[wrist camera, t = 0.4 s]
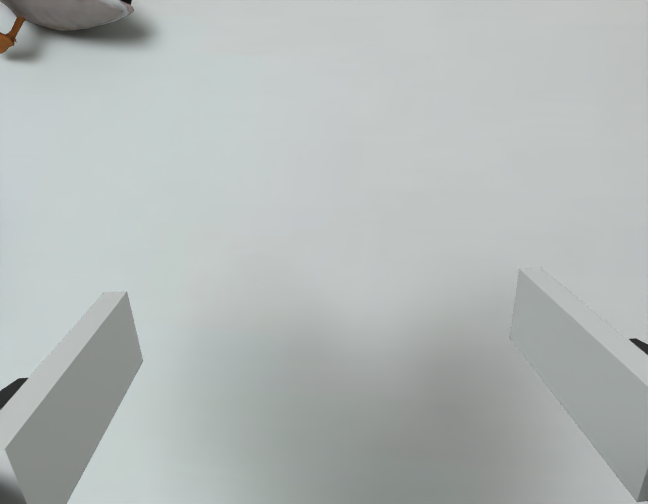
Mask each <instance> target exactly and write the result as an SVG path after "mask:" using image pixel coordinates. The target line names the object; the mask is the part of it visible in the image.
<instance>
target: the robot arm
mask: <svg viewBox="0 0 648 504" xmlns="http://www.w3.org/2000/svg"><path fill="white" fill-rule="evenodd" d="M510 339H511V341H512V342H513V343H514V344H515V346H516V347H517V348H518V350H519V351H520V352H521V353H522V355H523V356H524V357H525V359H526V360H527V361H528V362H529V364H530V365H531V366H532V368H533V369H534V370H535V371H536V373H537V374H538V375H539V377H540V378H541V379H542V380H543V382H544V383H545V384H546V386H547V387H548V388H549V389H550V391H551V392H552V393H553V395H554V396H555V397H556V399H557V400H558V401H559V402H560V404H561V405H562V406H563V408H564V409H565V410H566V411H567V413H568V414H569V415H570V417H571V418H572V419H573V420H574V422H575V423H576V424H577V426H578V427H579V428H580V429H581V431H582V432H583V433H584V435H585V436H586V437H587V438H588V440H589V441H590V442H591V444H592V445H593V446H594V447H595V449H596V450H597V451H598V453H599V454H600V455H601V456H602V458H603V459H604V460H605V462H606V463H607V464H608V465H609V467H610V468H611V469H612V471H613V472H614V473H615V474H616V476H617V477H618V478H619V480H620V481H621V482H622V483H623V485H624V486H625V487H626V489H627V490H628V491H629V493H630V494H631V495H632V496H633V498H634V499H635V500H636V502H642V501H648V344H646V343H644V342H642V341H640V340H638V339H636V338H635V339H627V338H626V337H625V336H624V335H623V334H621V333H620V332H619V331H618V330H616V329H615V328H614V327H613V326H612V325H610V324H609V323H608V322H607V321H606V320H604V319H603V318H602V317H601V316H600V315H598V314H597V313H596V312H595V311H593V310H592V309H591V308H590V307H589V306H587V305H586V304H585V303H584V302H583V301H581V300H580V299H579V298H578V297H576V296H575V295H574V294H573V293H572V292H570V291H569V290H568V289H567V288H566V287H564V286H563V285H562V284H561V283H560V282H558V281H557V280H556V279H555V278H553V277H552V276H551V275H550V274H549V273H547V272H546V271H545V270H544V269H543V268H527V269H519V275H518V282H517V289H516V297H515V304H514V311H513V318H512V326H511V333H510ZM142 362H143V359H142V354H141V350H140V346H139V341H138V337H137V333H136V328H135V324H134V320H133V315H132V311H131V307H130V302H129V298H128V294H127V291H126V292H109V293H103V294H102V295H101V296H100V297H99V298H98V300H97V301H96V302H95V303H94V304H93V305H92V306H91V308H90V309H89V310H88V311H87V312H86V313H85V314H84V316H83V317H82V318H81V319H80V320H79V321H78V322H77V324H76V325H75V326H74V327H73V328H72V329H71V330H70V332H69V333H68V334H67V335H66V336H65V337H64V338H63V340H62V341H61V342H60V343H59V344H58V345H57V346H56V348H55V349H54V350H53V351H52V352H51V353H50V354H49V355H48V357H47V358H46V359H45V360H44V361H43V362H42V363H41V365H40V366H39V367H38V368H37V369H36V370H35V371H34V373H33V374H32V375H31V376H30V377H29V378H19V379H17V380H16V381H14V382H13V383H11V384H10V385H8V386H7V387H5V388H4V389H2V390H1V391H0V504H67V502H68V500H69V498H70V496H71V494H72V493H73V491H74V489H75V487H76V485H77V483H78V481H79V480H80V478H81V476H82V474H83V472H84V470H85V468H86V467H87V465H88V463H89V461H90V459H91V457H92V455H93V453H94V452H95V450H96V448H97V446H98V444H99V442H100V440H101V439H102V437H103V435H104V433H105V431H106V429H107V427H108V426H109V424H110V422H111V420H112V418H113V416H114V414H115V413H116V411H117V409H118V407H119V405H120V403H121V401H122V399H123V398H124V396H125V394H126V392H127V390H128V388H129V386H130V385H131V383H132V381H133V379H134V377H135V375H136V373H137V372H138V370H139V368H140V366H141V364H142Z"/></svg>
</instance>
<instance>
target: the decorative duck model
mask: <svg viewBox="0 0 648 504" xmlns="http://www.w3.org/2000/svg"><path fill="white" fill-rule="evenodd" d="M0 1H1V2H2V3H4V4H5V5H6V6H8V7H9V8H10V9H11V11H12V12H13V13H14V14H15V15H16V17H17V19H16V21H15V23H14V25H13V27H12V30H11V31H10V32H9V33H8V34H6V35H5V34H3V33H0V53H3V52H5V51H6V50H7V49H8V48H9V47H11V46H14V41H15V42H16V39H15V37H16V35H17V33H18V31H19V29H20V28H21V26H22V24H23V22H24V21H25V20H28V21H30V22H33V23H35V24H38V25H41V26H44V27H47V28H51V29H55V30H61V31H69V30H78V29H86V28H92V27H96V26H99V25H103V24H107V23H111V22H114V21H117V20H120V19H122V18H123V17H125V16H127V15H129V14H131V13H132V12H133V11H134V9H133V7H132V6H130V5H131V1H132V0H0Z"/></svg>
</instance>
